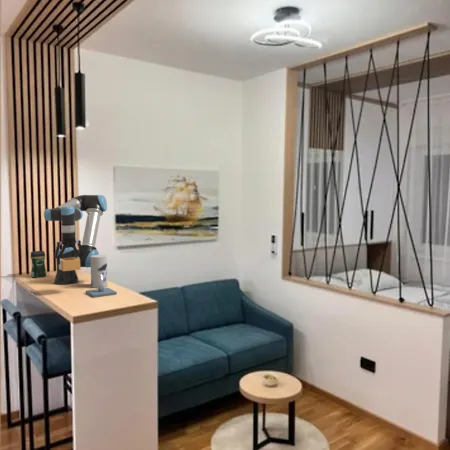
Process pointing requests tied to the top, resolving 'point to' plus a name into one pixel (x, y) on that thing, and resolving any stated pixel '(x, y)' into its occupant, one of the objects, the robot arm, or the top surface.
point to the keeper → (101, 289)
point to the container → (98, 269)
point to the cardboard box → (70, 264)
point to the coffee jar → (38, 264)
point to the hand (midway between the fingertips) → (69, 268)
